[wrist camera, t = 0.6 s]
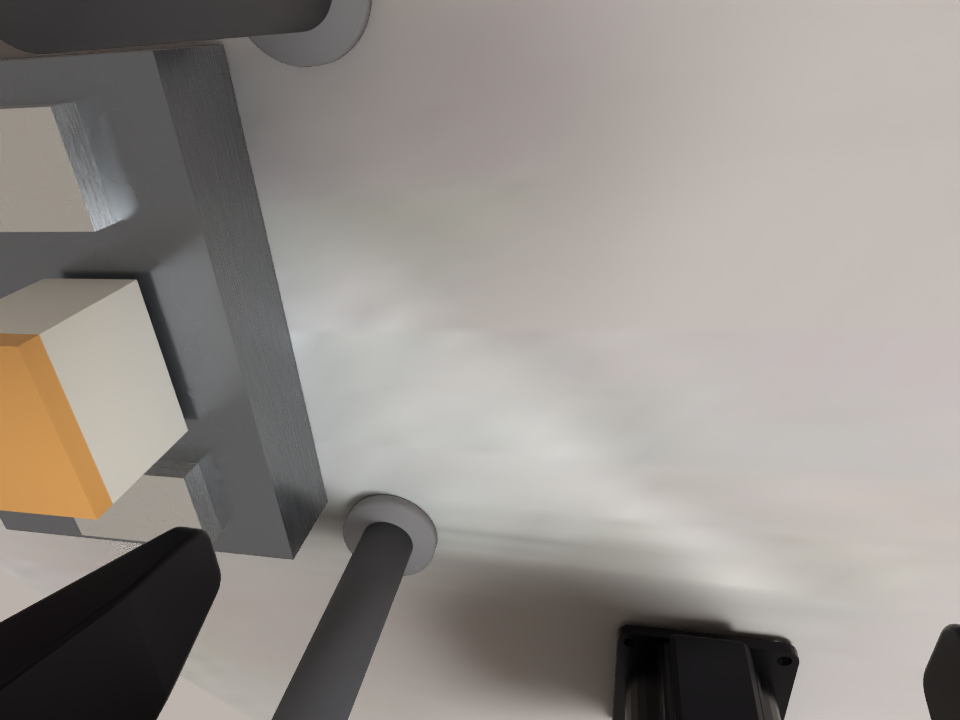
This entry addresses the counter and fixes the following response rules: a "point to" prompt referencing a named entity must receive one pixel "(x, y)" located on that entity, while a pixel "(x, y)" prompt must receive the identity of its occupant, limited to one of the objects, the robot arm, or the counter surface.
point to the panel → (166, 280)
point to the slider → (80, 396)
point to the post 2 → (358, 606)
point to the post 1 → (188, 25)
